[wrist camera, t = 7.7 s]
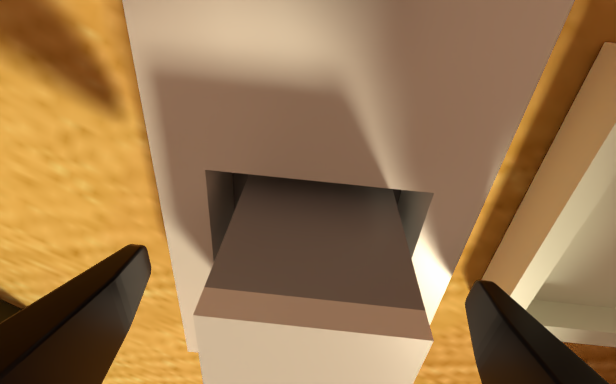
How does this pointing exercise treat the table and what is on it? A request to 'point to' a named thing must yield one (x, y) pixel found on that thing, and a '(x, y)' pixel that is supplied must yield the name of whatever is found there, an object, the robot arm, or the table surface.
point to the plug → (312, 290)
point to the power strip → (334, 111)
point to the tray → (570, 222)
